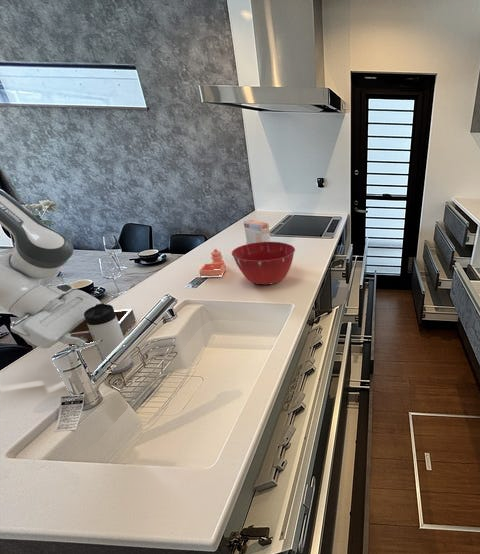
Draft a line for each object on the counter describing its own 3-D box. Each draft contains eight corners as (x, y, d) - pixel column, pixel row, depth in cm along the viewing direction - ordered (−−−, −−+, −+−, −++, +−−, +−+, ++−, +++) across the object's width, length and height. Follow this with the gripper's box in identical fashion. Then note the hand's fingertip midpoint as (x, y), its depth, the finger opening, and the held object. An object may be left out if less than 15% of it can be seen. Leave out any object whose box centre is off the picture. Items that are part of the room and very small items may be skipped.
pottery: (221, 277, 150) (218, 259, 146) (200, 278, 148) (196, 259, 144) (229, 264, 166) (226, 247, 162) (211, 265, 164) (207, 247, 160)
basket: (69, 347, 98) (64, 334, 96) (92, 325, 110) (87, 313, 107) (119, 342, 101) (114, 329, 99) (136, 320, 113) (132, 309, 111)
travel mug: (133, 357, 94) (114, 300, 86) (131, 370, 89) (110, 311, 81) (108, 363, 91) (85, 305, 83) (104, 377, 86) (80, 316, 78)
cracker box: (272, 258, 176) (268, 222, 168) (264, 261, 172) (260, 225, 163) (256, 253, 183) (251, 219, 174) (248, 256, 178) (243, 221, 169)
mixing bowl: (269, 264, 167) (265, 237, 161) (309, 276, 154) (307, 247, 148) (223, 282, 145) (218, 252, 138) (266, 298, 132) (262, 265, 126)
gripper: (11, 317, 68) (77, 348, 74) (73, 280, 87) (121, 308, 93) (-4, 335, 69) (62, 365, 75) (60, 295, 88) (109, 321, 94)
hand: (95, 333), depth 84 cm, fingers open, 8 cm apart
